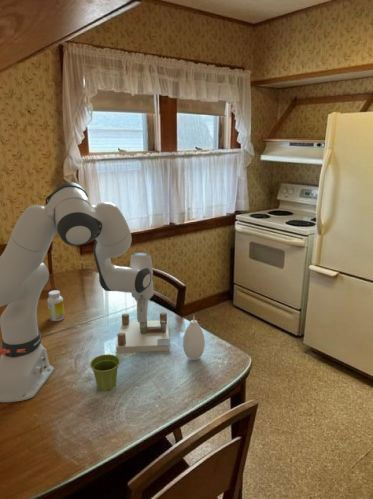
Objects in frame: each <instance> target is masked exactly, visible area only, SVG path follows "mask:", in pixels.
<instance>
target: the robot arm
mask: <svg viewBox="0 0 373 499" xmlns="http://www.w3.org/2000/svg"><path fill="white" fill-rule="evenodd" d="M123 214H124V213H122V212H121V210H120V208H119V207H118V206H117V205H116V204H114V203H112V202H110V201H109V202H108V201H103V202H100V203H98V204H96V205H94V204H91V201H90V200H89V196H88V193H87V191H86V190H85V189H84V188H83V186H81V185H80V184H78V183H76V182H71V181H70V182H69V181H68V182H64V183H61V184H59V185H58V186H57V187H56V188H54V189H53V191H52V192H51V193H50V194H49V195H47V196H46V198H45V205H39V204H34V205H29V206H27V207H26V209H25V210H23V212H22V213H21V214H20V216H19V217H18V219H17V221H16V223H15V225H14V227H13V230H12V233H11V234H10V236H9V237H10V238H9V240H8V242H7V244H6V246H5V249H4V251H3V252H2V253H1V254H0V308H1V307H4V306H6V305H7V306H6V307H5V309H4V310H3V311H2V313H1V315H0V331H1V336H2V339H1V343H0V344H1V345H0V403H14V402H16V403H17V402H20V401H21V402H22V401H25V400H29V399H31V398H34V397H35V396H36V395H37V394H38V392H39V391H40V389H41V388H42V387H43V386H44V384H45V383H46V382H47V380H48V379H49V378H50V377H51V375H52V374H53V373H54V371H55V367H54V365H53V366H52V365H51V364H50V360H49V356H48V352H47V348H45V347H44V345H42V335H41V333H40V332H41V331H40V330H39V327H38V317H37V313H38V312H37V311H38V310H37V309H38V304H39V299H40V297H41V293H42V291H43V290H44V288H45V285H46V284H47V283H49V282H48V281H49V277H50V272H49V269H48V267H47V266H46V264H45V263H44V262H43V261H44V259H45V257H46V255H47V253H48V251H49V248H50V246H51V244H52V241H53V239H54V238H55V236H56V235H57V234H58V235H59V237H60V239H61V241H63V242H64V243H65V244H66V245H69V246H73V247H74V246H75V247H76V246H77V247H78V246H83V245H87V244H89V243H90V242H92V241H94V240H95V242H93V248H92V251H93V257H94V261H95V265H96V268H97V272H98V281H99V284H100V287H101V288H102V289H103V290H104V291H106V292H120V293H128V294H129V293H130V294H131V297H132V298H133V299H134V300H135V301H136V318H137V320H136V321H138V322H146V321H148V308H149V300H151V298H152V297H153V296H154V281H153V274H154V272H153V271H154V269H153V260H152V257H151V255H150V254H149V253H146V252H134V253H131V256H130V266H123V265H115V264H113V263H112V261H111V259H113V258H118V257H121V256H122V255H124V254H125V253H126V252H127V251H128V250H129V249H130V247H131V245H132V240H133V239H132V238H133V237H132V232H131V230H130V227H129V225H128V223H127V219H126V218H125V216H124V215H123Z"/></svg>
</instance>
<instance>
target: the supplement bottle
mask: <svg viewBox="0 0 373 499" xmlns="http://www.w3.org/2000/svg"><path fill="white" fill-rule="evenodd" d="M46 302H47V309H48V316H49V320H50V321H51V322H59V321H62V320H64V319H65V317H66V313H65V305H64V304H65V303H64V298H63V296H61V291H60V290H58V289H57V290H54V289H53V290H51V291H49V292H48V298H47V300H46Z"/></svg>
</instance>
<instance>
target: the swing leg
mask: <svg viewBox="0 0 373 499" xmlns="http://www.w3.org/2000/svg"><path fill="white" fill-rule="evenodd" d="M147 321H148V320H147ZM147 321H146V322H140V333H142V334H144V333H149V332H166V321H161V326H157V327H147Z"/></svg>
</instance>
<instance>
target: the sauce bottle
mask: <svg viewBox="0 0 373 499" xmlns="http://www.w3.org/2000/svg"><path fill="white" fill-rule="evenodd" d="M182 339H183V340H182V347H183V352H184V354H185V355H186V357H187V358H188V359H189V360H191V361H196V360H198V359H200V358H201V357H202V355H203V353H204V350H205V346H206V345H205V344H206V343H205V335H204V333H203V330H202V327H201V326H200V324H199V323H198V320H196V319H195V315H193V318H192V319H191V320H190V322H189V324H188V325H187V327H186V329H185V331H184V334H183V338H182Z"/></svg>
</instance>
